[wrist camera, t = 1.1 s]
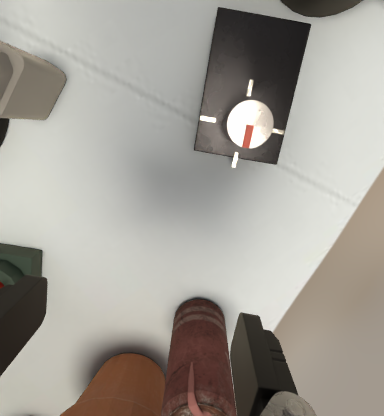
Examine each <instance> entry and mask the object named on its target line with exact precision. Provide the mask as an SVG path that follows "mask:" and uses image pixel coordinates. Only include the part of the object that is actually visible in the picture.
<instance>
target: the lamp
mask: <svg viewBox="0 0 384 416" xmlns="http://www.w3.org/2000/svg"><path fill="white" fill-rule="evenodd" d="M8 119H9V118H0V145H1V143H2V141H3V139H4V136H5V133H6V130H7V126H8Z"/></svg>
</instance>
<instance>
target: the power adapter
mask: <svg viewBox="0 0 384 416" xmlns="http://www.w3.org/2000/svg"><path fill="white" fill-rule="evenodd" d="M65 82H66V76H65V74H64V73H63V72H62V71H61V70H59V69H58V68H57V67H55V66H54V65H52V64H51V63H49V62H48V61H46V60H43V59H41V58H39V57H36V56H34V55H32V54H29V53H27V52H25V51H23V50H20V49H18V48H16V47H13V46H11V45H9V44H6V43H4V42H2V41H0V118H12V119H32V120H45V119H47V117H48V116H49V114H50V112H51V110H52V108H53V106H54V104H55V102H56V100H57V98H58V96H59V94H60V92H61V91H62V89H63V87H64V85H65Z"/></svg>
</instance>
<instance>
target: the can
mask: <svg viewBox="0 0 384 416" xmlns="http://www.w3.org/2000/svg"><path fill="white" fill-rule="evenodd" d="M161 416H237V415H236V406H235V399H234V391H233V383H232V375H231V367H230V359H229V351H228V343H227V335H226V327H225V319H224V315H223V313H222V311H221V310H220V309H219V307H218V306H217V305H215V304H213V303H212V302H210V301H207V300H203V299H195V300H191V301H188V302H186V303H185V304H183V305H182V306H180V308H179V309H178V310H177V312H176V314H175V318H174V323H173V330H172V338H171V345H170V352H169V359H168V366H167V374H166V381H165V388H164V395H163V402H162V410H161Z"/></svg>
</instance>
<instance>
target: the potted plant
mask: <svg viewBox="0 0 384 416" xmlns="http://www.w3.org/2000/svg"><path fill="white" fill-rule="evenodd" d="M164 388H165V376H164V374H163V372H162V370H161V368H160V367H159V366H158V365H157V364H156V363H155V362H154V361H153V360H151V359H149V358H147V357H145V356H143V355H139V354H134V353H125V354H119V355H116V356H113V357H111V358H110V359H109V360H107V361H106V362H105V363H104V364H103V366H102V367H101V368H100V370H99V371H98V373H97V374H96V375H95V377H94V378H93V380H92V381H91V382H90V384H89V385H88V387H87V388H86V389H85V391H84V392H83V394H82V395H81V396H80V398H79V399H78V401H77V402H76V403H75V404H74V405H73V406H71V407H70V408H69V409H67V410H66V411H65V412H63V413H62V414H61V415H60V416H161V410H162V402H163V395H164Z"/></svg>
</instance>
